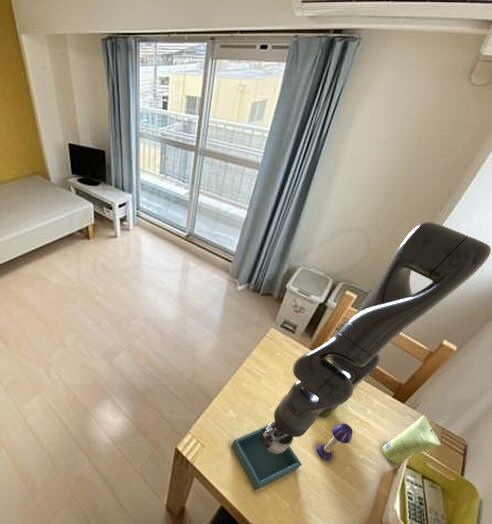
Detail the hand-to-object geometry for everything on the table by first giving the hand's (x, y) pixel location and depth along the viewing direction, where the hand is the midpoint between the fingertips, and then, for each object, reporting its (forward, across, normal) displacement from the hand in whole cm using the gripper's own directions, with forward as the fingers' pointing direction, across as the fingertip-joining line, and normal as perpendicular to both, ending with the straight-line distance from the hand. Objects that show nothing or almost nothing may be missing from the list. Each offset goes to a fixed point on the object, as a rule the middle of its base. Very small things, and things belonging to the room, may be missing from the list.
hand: (275, 439), depth 81 cm
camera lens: (+3, 0, 0) cm, 3 cm away
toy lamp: (+15, +19, -5) cm, 24 cm away
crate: (+14, 0, 0) cm, 14 cm away
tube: (+15, +38, -13) cm, 43 cm away
